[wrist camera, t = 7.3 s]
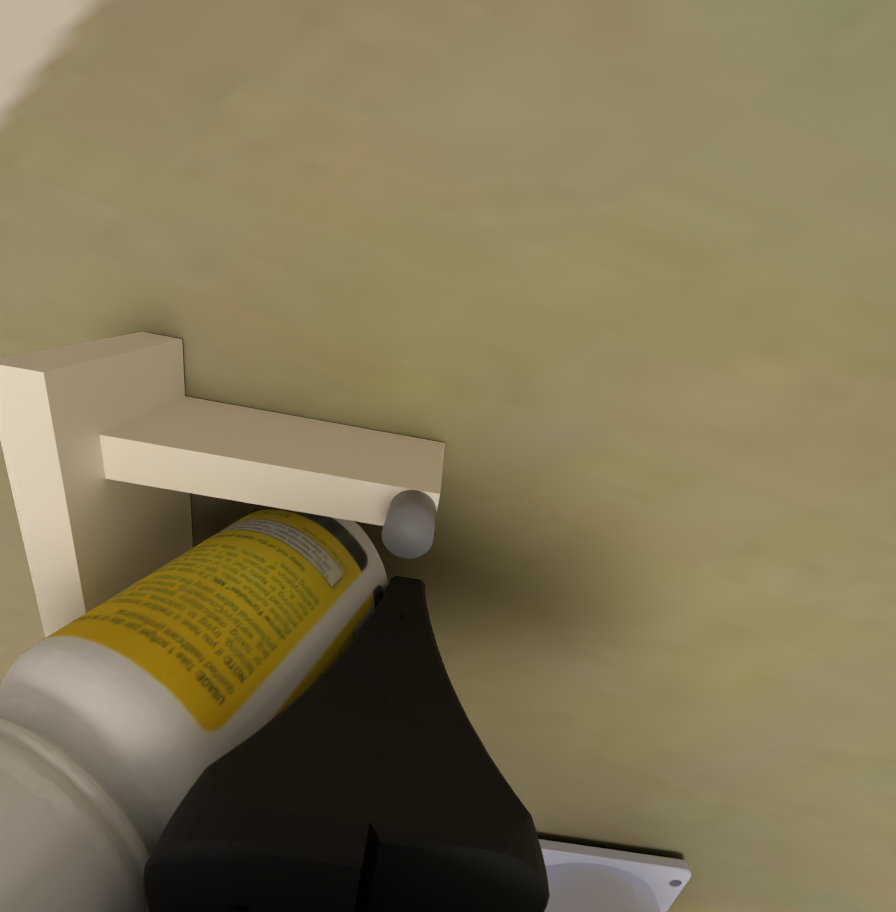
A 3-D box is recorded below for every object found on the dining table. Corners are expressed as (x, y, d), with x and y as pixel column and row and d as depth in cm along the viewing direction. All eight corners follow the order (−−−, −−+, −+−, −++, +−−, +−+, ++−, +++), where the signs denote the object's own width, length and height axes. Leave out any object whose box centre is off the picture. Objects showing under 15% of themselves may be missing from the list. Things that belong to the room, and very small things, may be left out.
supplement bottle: (227, 504, 13) (-262, 767, 6) (361, 480, 12) (-89, 810, 4) (283, 639, 14) (-66, 1011, 7) (413, 635, 13) (138, 1129, 5)
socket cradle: (394, 709, 16) (374, 839, 12) (171, 674, 16) (81, 798, 12) (455, 389, 11) (452, 445, 8) (141, 331, 11) (-17, 361, 7)
